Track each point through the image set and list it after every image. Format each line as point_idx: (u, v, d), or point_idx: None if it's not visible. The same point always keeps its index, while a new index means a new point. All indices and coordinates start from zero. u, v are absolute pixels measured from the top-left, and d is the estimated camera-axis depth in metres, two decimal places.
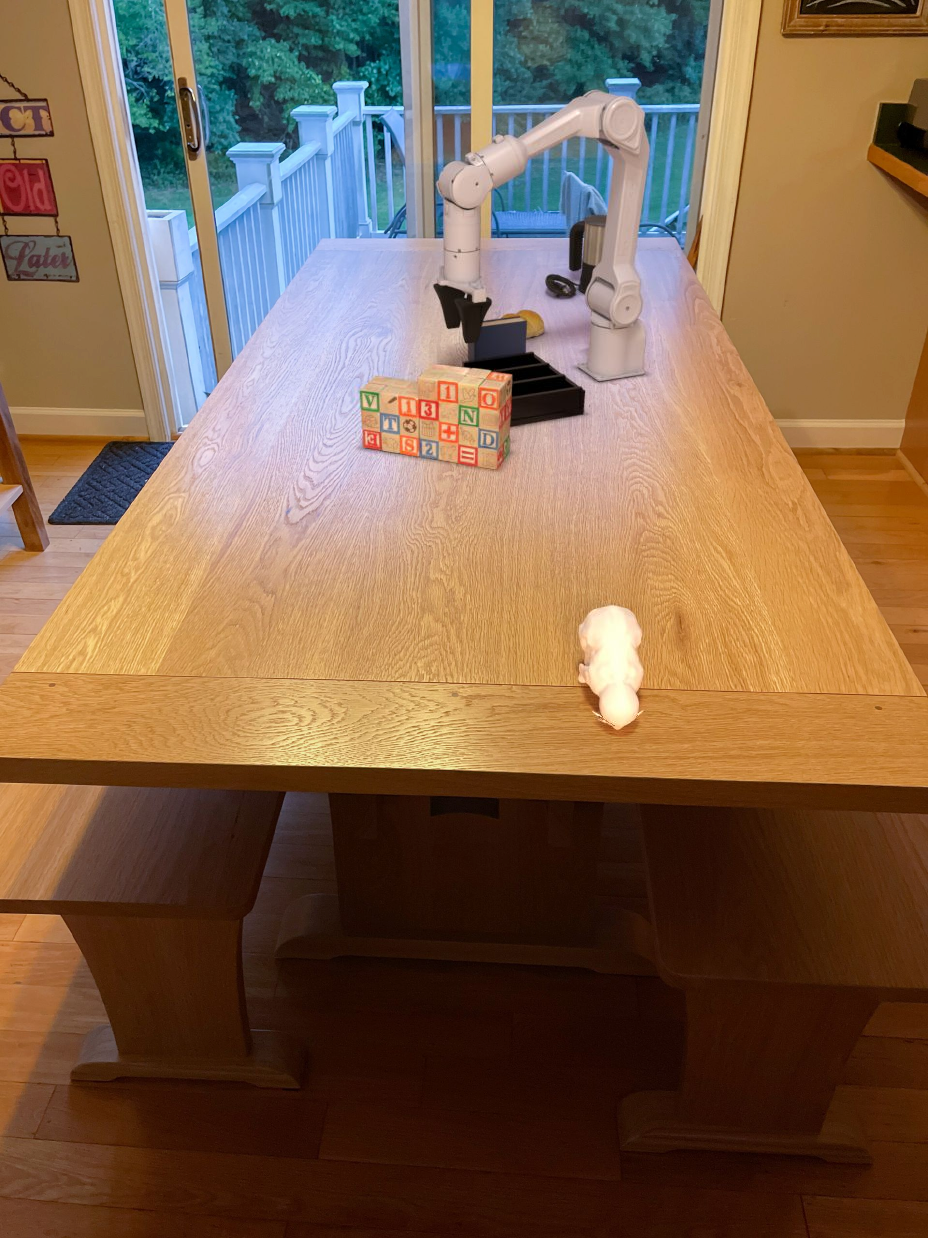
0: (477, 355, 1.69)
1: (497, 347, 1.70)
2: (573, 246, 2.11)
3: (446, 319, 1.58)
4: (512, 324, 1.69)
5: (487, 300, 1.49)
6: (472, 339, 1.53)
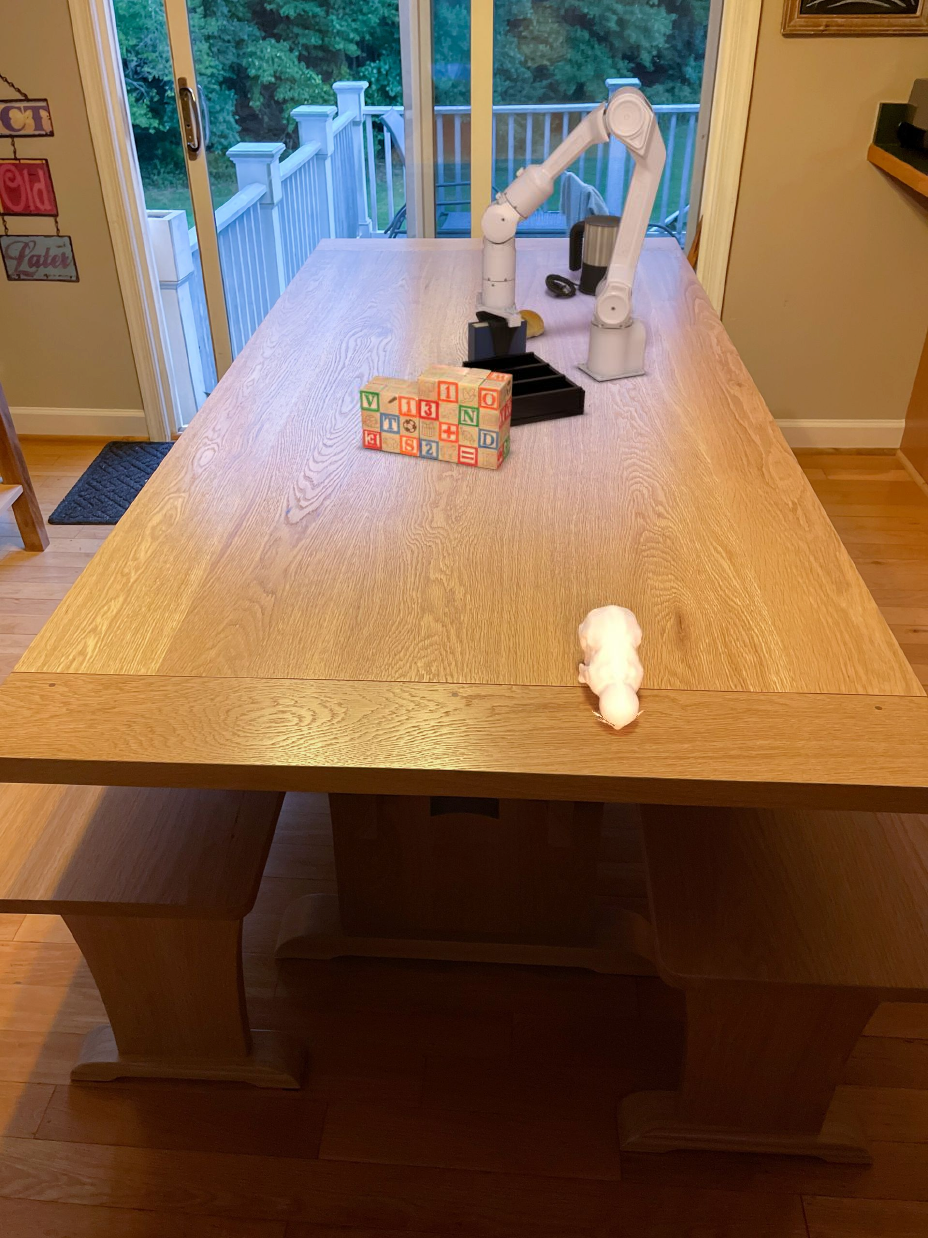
0: (477, 355, 1.69)
1: None
2: (573, 246, 2.11)
3: None
4: None
5: None
6: (502, 355, 1.70)
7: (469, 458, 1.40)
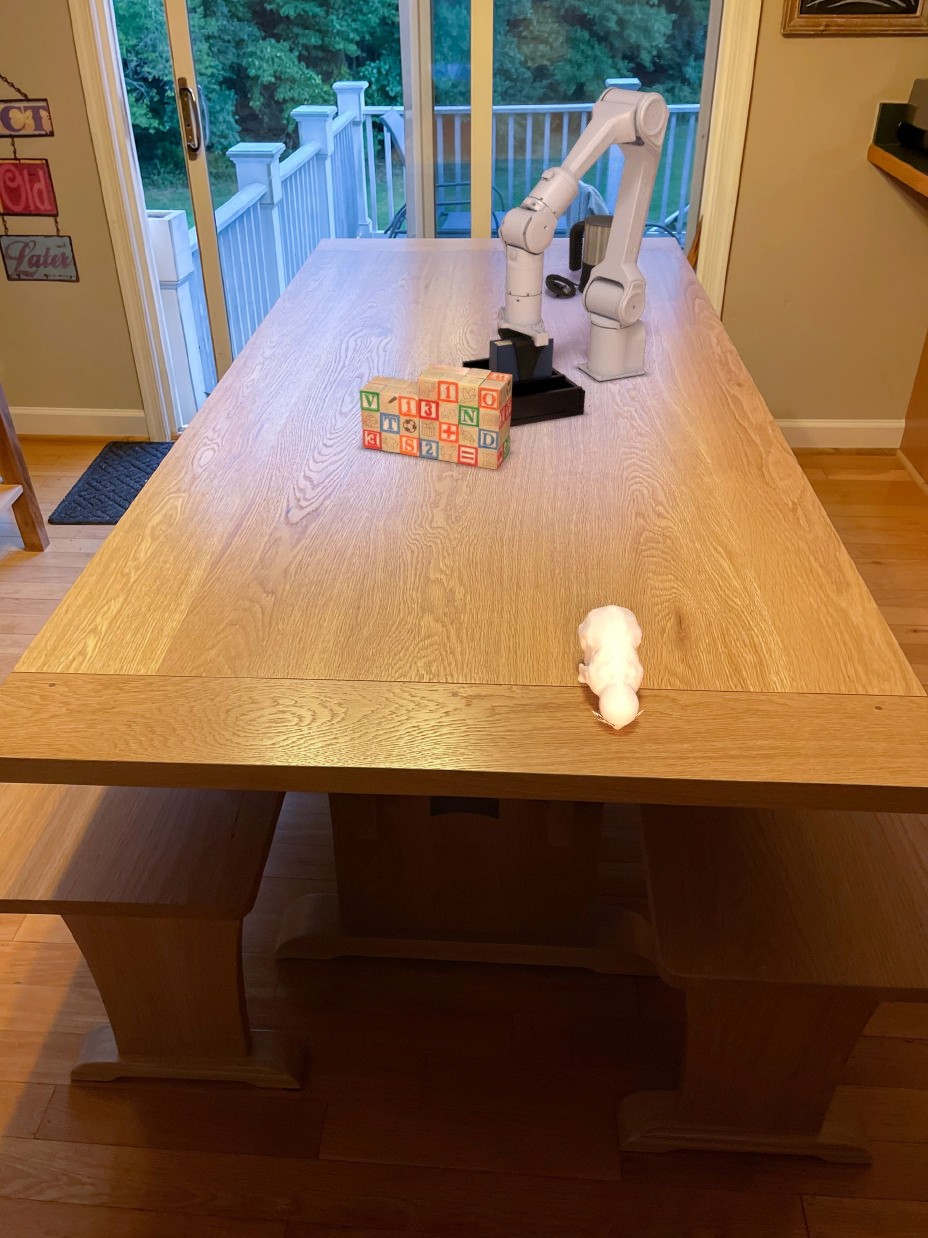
0: None
1: None
2: (573, 246, 2.11)
3: None
4: None
5: None
6: (526, 376, 1.56)
7: (469, 458, 1.40)
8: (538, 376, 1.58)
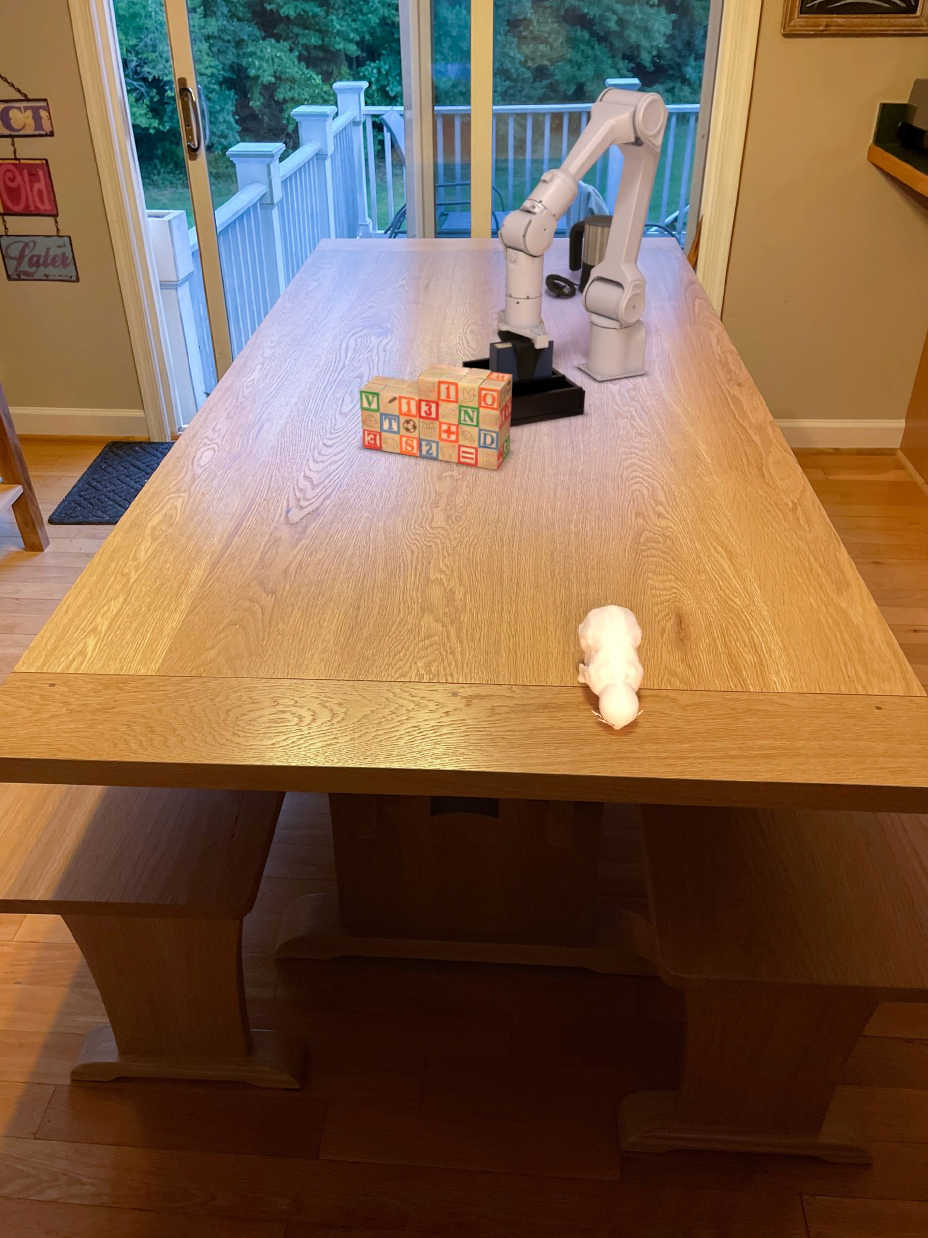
0: None
1: None
2: (573, 246, 2.11)
3: None
4: None
5: None
6: (527, 378, 1.56)
7: (469, 458, 1.40)
8: None
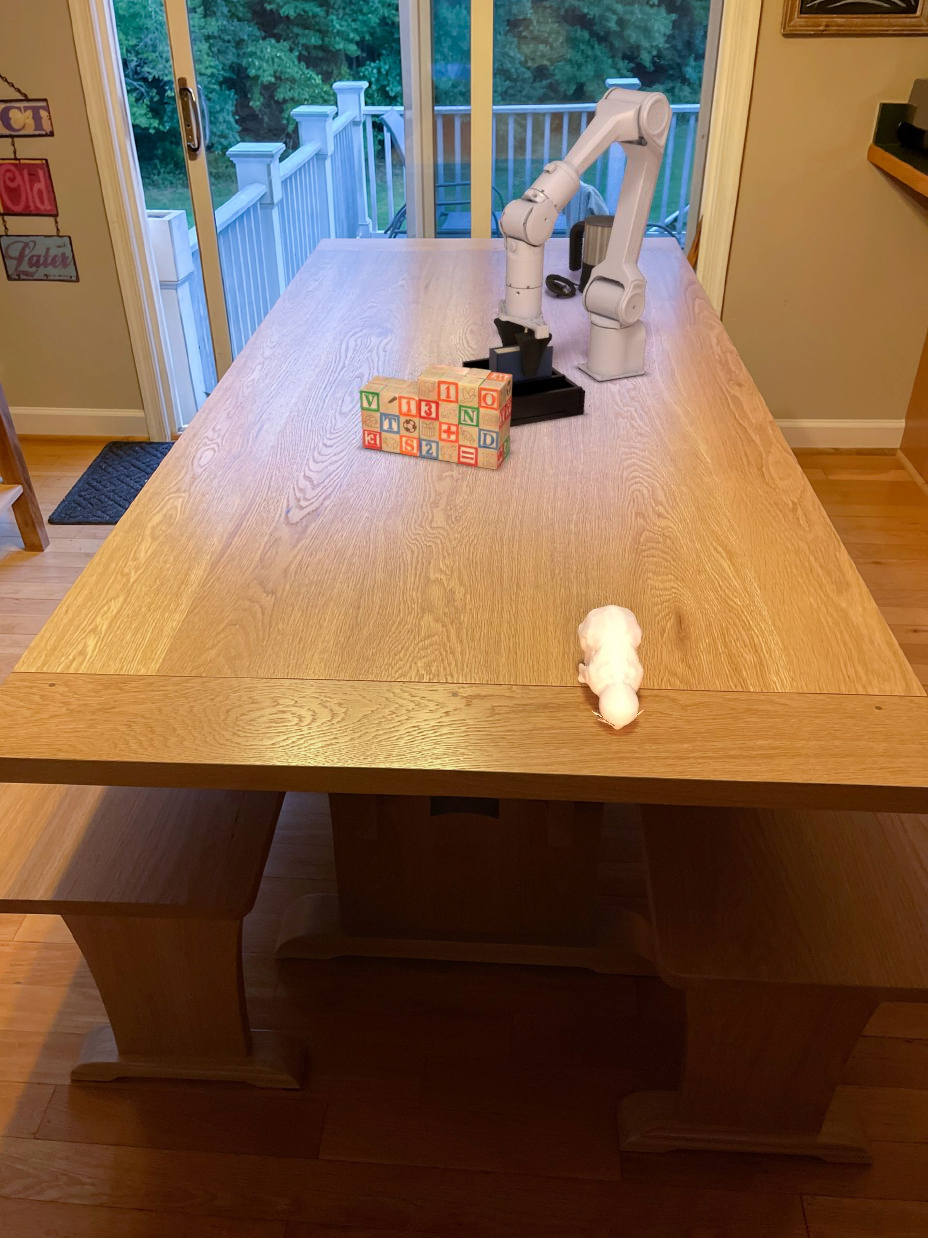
0: None
1: (521, 375, 1.56)
2: (573, 246, 2.11)
3: None
4: None
5: None
6: (531, 373, 1.54)
7: (469, 458, 1.40)
8: None
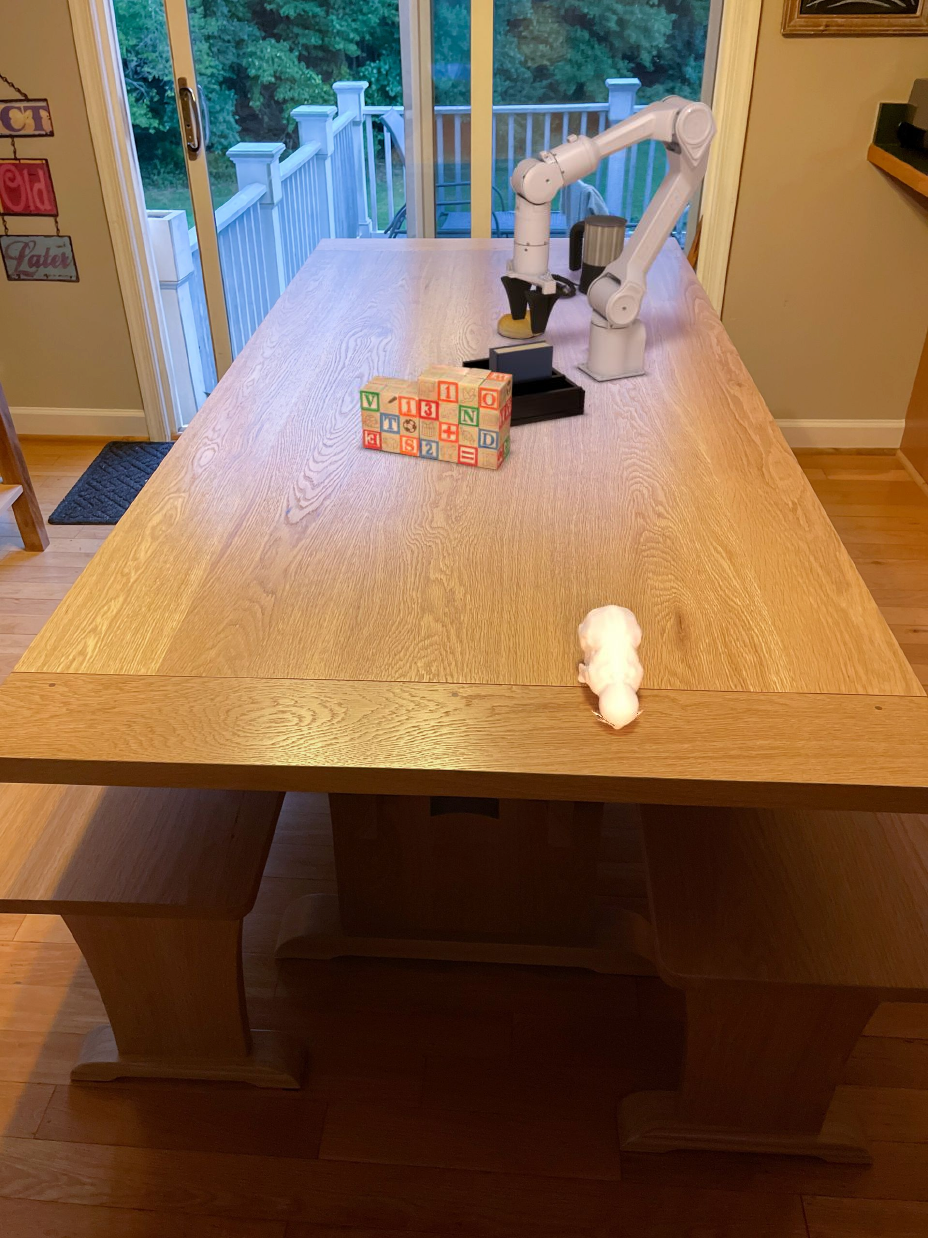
0: None
1: (521, 375, 1.56)
2: (573, 246, 2.11)
3: (513, 311, 1.64)
4: (537, 350, 1.55)
5: (555, 292, 1.55)
6: (539, 330, 1.59)
7: (469, 458, 1.40)
8: None
